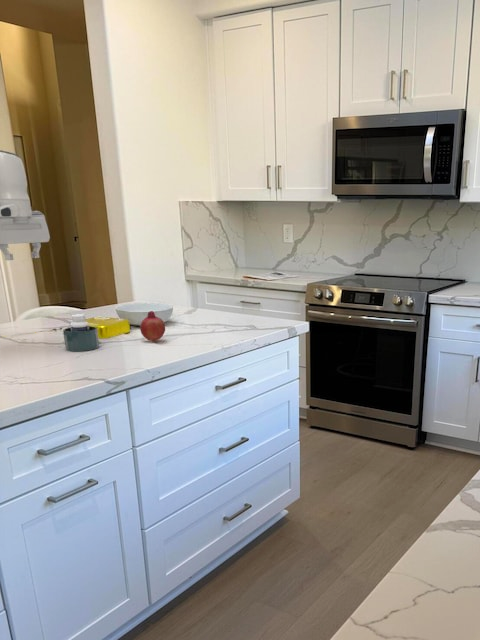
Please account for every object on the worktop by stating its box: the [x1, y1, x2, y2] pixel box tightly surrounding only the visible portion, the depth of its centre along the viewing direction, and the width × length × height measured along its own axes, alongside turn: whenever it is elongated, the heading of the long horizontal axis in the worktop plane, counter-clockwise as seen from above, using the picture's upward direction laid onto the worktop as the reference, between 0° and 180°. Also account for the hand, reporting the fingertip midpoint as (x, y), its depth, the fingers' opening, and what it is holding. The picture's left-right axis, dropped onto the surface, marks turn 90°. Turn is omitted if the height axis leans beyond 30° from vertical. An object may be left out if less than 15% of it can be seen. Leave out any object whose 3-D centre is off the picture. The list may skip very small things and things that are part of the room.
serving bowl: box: [115, 301, 174, 327], centre depth 231 cm, size 21×21×7 cm
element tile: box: [85, 315, 131, 340], centre depth 213 cm, size 15×15×5 cm
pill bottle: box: [69, 313, 89, 332], centre depth 191 cm, size 5×5×10 cm
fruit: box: [139, 311, 166, 342], centre depth 202 cm, size 8×8×10 cm
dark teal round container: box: [62, 326, 100, 352], centre depth 192 cm, size 10×10×6 cm
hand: (22, 259), depth 184 cm, fingers open, 8 cm apart
